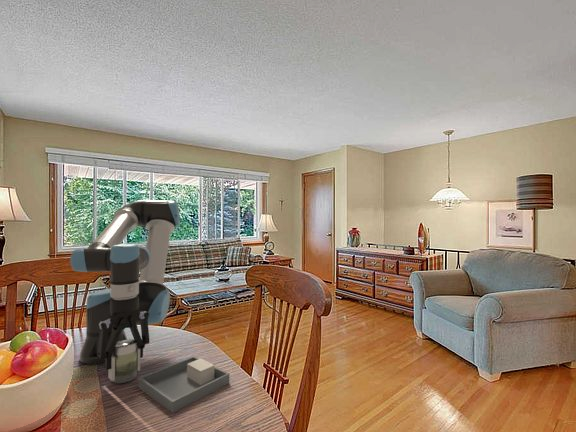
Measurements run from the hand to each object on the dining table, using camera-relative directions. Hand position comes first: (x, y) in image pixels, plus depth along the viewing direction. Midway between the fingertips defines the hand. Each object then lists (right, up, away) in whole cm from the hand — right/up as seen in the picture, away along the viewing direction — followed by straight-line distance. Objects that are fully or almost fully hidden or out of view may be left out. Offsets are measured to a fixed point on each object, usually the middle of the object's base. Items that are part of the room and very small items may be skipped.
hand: (124, 373), depth 91 cm
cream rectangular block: (+22, -2, +1) cm, 22 cm away
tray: (+19, -3, -3) cm, 19 cm away
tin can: (0, -1, 0) cm, 1 cm away
